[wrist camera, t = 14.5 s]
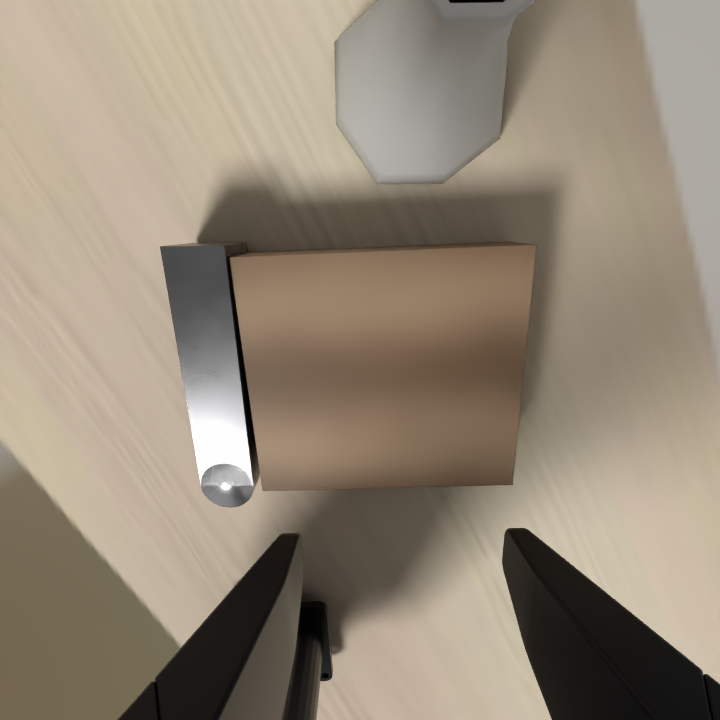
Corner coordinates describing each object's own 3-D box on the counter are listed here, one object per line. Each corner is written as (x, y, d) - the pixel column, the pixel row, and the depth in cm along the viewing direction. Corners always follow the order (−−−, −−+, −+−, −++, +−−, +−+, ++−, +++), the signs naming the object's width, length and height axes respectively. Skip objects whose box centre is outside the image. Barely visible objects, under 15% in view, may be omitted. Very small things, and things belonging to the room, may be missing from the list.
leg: (269, 471, 22) (255, 507, 19) (225, 471, 22) (204, 507, 19) (246, 242, 18) (224, 245, 15) (192, 243, 18) (160, 246, 15)
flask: (305, 27, 16) (214, -272, 6) (485, -49, 15) (693, -529, 5) (363, 212, 18) (360, 197, 8) (522, 154, 17) (718, 66, 8)
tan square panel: (493, 450, 22) (512, 484, 19) (275, 456, 22) (262, 491, 19) (509, 241, 18) (536, 245, 15) (250, 252, 18) (229, 257, 16)
